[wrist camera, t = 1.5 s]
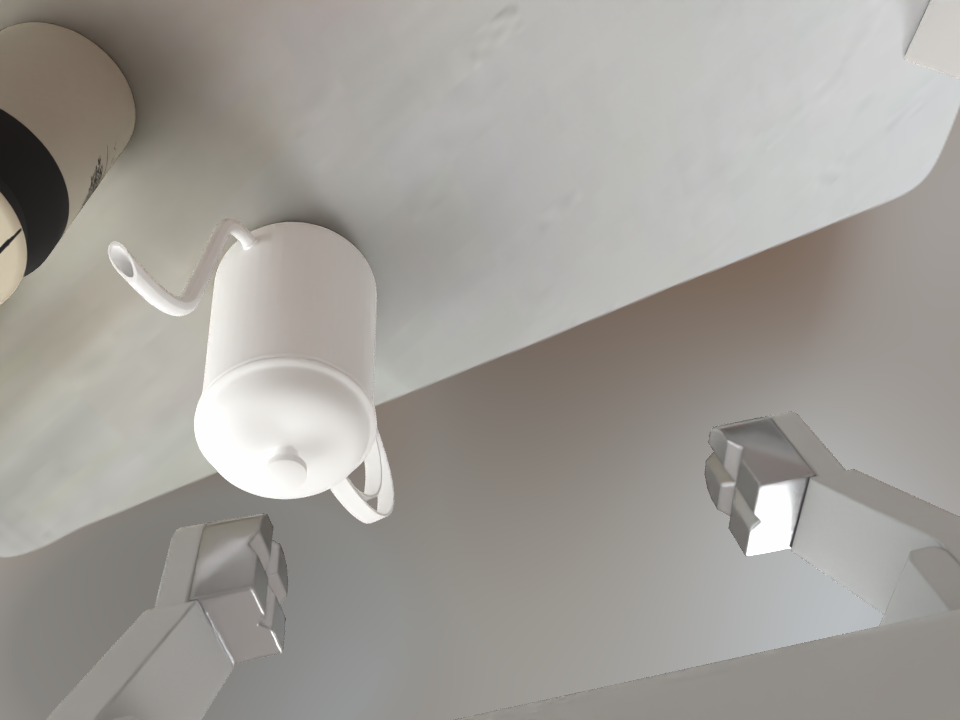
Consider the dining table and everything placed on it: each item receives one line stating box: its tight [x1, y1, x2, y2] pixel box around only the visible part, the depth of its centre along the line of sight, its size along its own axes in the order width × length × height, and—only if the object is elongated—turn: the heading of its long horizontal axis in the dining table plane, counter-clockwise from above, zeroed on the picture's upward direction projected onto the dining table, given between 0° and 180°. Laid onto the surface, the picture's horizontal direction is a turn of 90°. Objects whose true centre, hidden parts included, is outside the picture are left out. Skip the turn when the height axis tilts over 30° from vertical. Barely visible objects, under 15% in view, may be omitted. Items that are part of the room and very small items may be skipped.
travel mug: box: [0, 22, 135, 304], centre depth 32 cm, size 8×8×18 cm
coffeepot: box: [108, 219, 394, 524], centre depth 41 cm, size 11×25×19 cm, turn 22°
